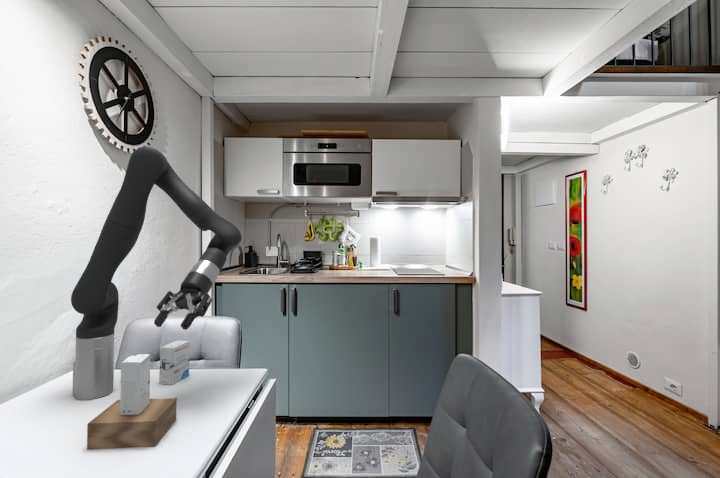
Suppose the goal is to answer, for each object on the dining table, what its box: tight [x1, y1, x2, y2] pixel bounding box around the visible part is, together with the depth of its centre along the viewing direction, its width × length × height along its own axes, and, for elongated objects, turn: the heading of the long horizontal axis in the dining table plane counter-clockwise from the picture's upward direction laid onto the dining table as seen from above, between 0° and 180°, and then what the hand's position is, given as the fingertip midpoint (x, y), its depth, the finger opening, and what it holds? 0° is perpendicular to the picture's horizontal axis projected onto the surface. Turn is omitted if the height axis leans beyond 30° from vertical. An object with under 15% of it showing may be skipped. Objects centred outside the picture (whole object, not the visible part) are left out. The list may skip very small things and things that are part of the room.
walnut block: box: [86, 397, 178, 451], centre depth 86 cm, size 14×12×6 cm
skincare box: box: [119, 353, 151, 415], centre depth 86 cm, size 6×4×12 cm
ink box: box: [158, 340, 191, 386], centre depth 120 cm, size 9×5×12 cm, turn 168°
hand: (170, 326), depth 97 cm, fingers open, 8 cm apart
